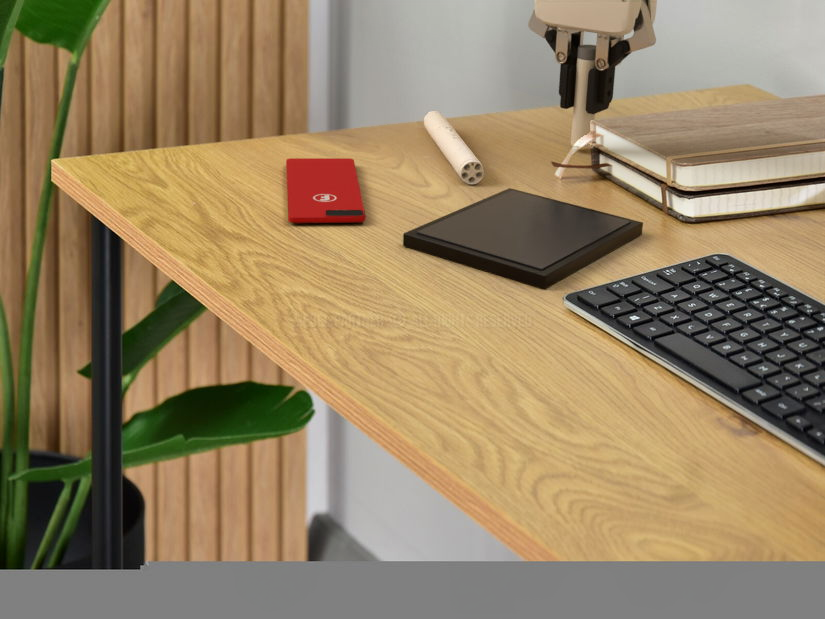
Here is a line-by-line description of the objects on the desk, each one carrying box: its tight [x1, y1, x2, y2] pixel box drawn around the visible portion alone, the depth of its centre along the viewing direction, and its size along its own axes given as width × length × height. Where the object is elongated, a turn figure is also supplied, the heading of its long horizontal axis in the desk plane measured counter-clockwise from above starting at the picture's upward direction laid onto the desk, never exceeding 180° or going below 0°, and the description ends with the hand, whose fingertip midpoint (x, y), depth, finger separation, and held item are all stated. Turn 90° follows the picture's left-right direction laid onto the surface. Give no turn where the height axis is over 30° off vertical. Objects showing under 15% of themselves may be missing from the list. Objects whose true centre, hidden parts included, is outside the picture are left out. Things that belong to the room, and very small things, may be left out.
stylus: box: [570, 44, 596, 149], centre depth 108 cm, size 2×2×9 cm
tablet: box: [402, 187, 644, 290], centre depth 89 cm, size 14×12×1 cm
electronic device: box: [285, 157, 366, 224], centre depth 97 cm, size 6×1×15 cm
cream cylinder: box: [423, 110, 485, 185], centre depth 108 cm, size 18×2×2 cm, turn 11°
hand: (584, 106), depth 109 cm, fingers closed on stylus, 2 cm apart
